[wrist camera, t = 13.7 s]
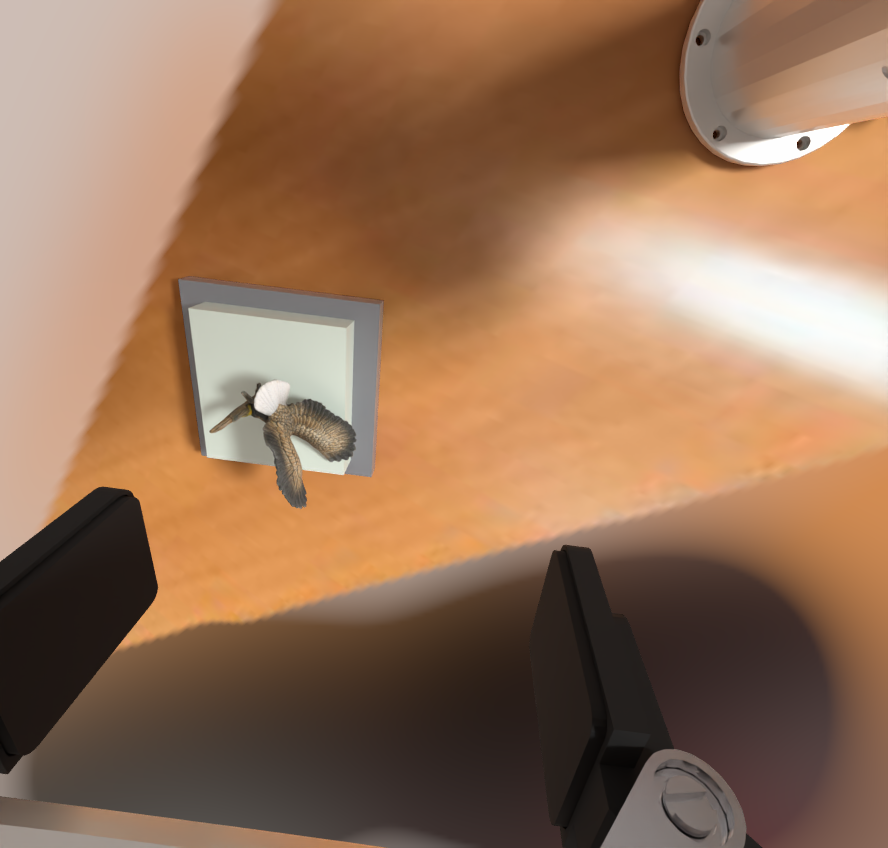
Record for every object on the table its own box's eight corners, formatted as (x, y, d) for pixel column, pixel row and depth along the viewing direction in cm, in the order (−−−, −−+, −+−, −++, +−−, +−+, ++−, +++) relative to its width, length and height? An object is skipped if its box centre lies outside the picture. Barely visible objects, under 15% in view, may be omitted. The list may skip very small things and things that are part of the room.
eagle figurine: (224, 434, 39) (304, 510, 39) (192, 427, 32) (290, 519, 32) (292, 370, 40) (369, 444, 40) (276, 349, 33) (369, 438, 33)
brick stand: (385, 298, 39) (374, 311, 35) (376, 463, 46) (365, 492, 41) (195, 274, 39) (158, 284, 35) (215, 442, 46) (186, 469, 42)
